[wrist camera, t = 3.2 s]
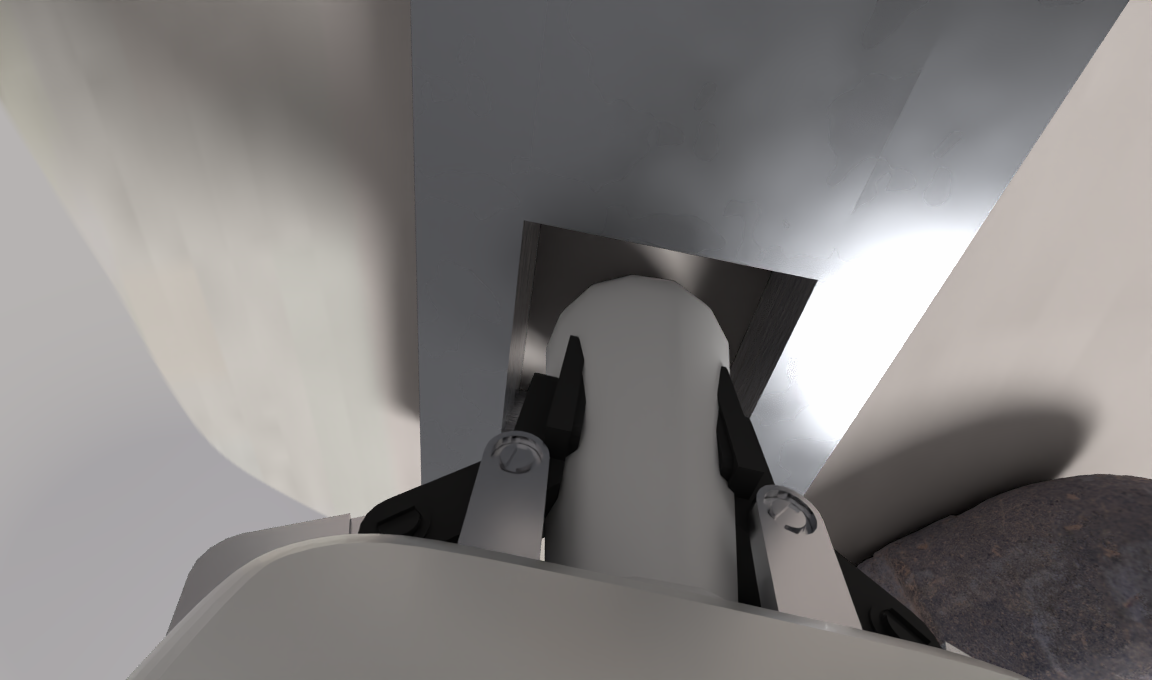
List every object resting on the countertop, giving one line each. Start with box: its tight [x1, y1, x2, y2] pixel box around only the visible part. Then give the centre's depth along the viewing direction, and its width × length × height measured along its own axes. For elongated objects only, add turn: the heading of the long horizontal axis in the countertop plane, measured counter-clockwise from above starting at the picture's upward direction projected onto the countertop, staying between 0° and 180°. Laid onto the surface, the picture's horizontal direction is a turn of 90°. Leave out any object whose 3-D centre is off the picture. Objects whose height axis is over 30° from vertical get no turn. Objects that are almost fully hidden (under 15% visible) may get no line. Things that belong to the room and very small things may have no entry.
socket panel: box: [411, 0, 1129, 496], centre depth 11 cm, size 14×30×3 cm, turn 170°
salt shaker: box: [545, 275, 738, 602], centre depth 10 cm, size 6×6×13 cm
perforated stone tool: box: [857, 474, 1152, 680], centre depth 16 cm, size 15×5×7 cm, turn 146°
